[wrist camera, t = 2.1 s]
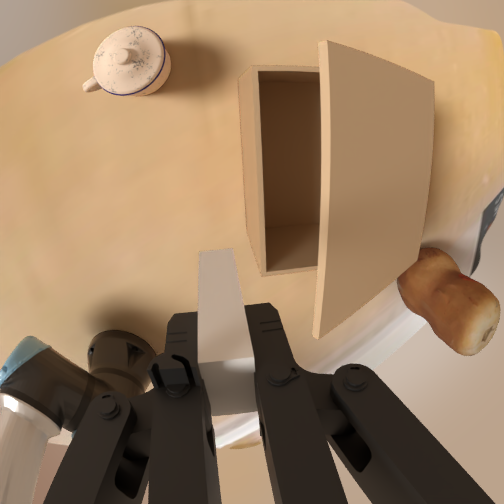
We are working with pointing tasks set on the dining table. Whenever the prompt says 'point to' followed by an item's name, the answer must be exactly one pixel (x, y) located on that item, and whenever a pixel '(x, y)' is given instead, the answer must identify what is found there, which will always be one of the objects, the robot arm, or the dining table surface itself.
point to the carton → (282, 165)
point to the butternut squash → (450, 301)
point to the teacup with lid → (130, 63)
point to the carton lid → (369, 177)
